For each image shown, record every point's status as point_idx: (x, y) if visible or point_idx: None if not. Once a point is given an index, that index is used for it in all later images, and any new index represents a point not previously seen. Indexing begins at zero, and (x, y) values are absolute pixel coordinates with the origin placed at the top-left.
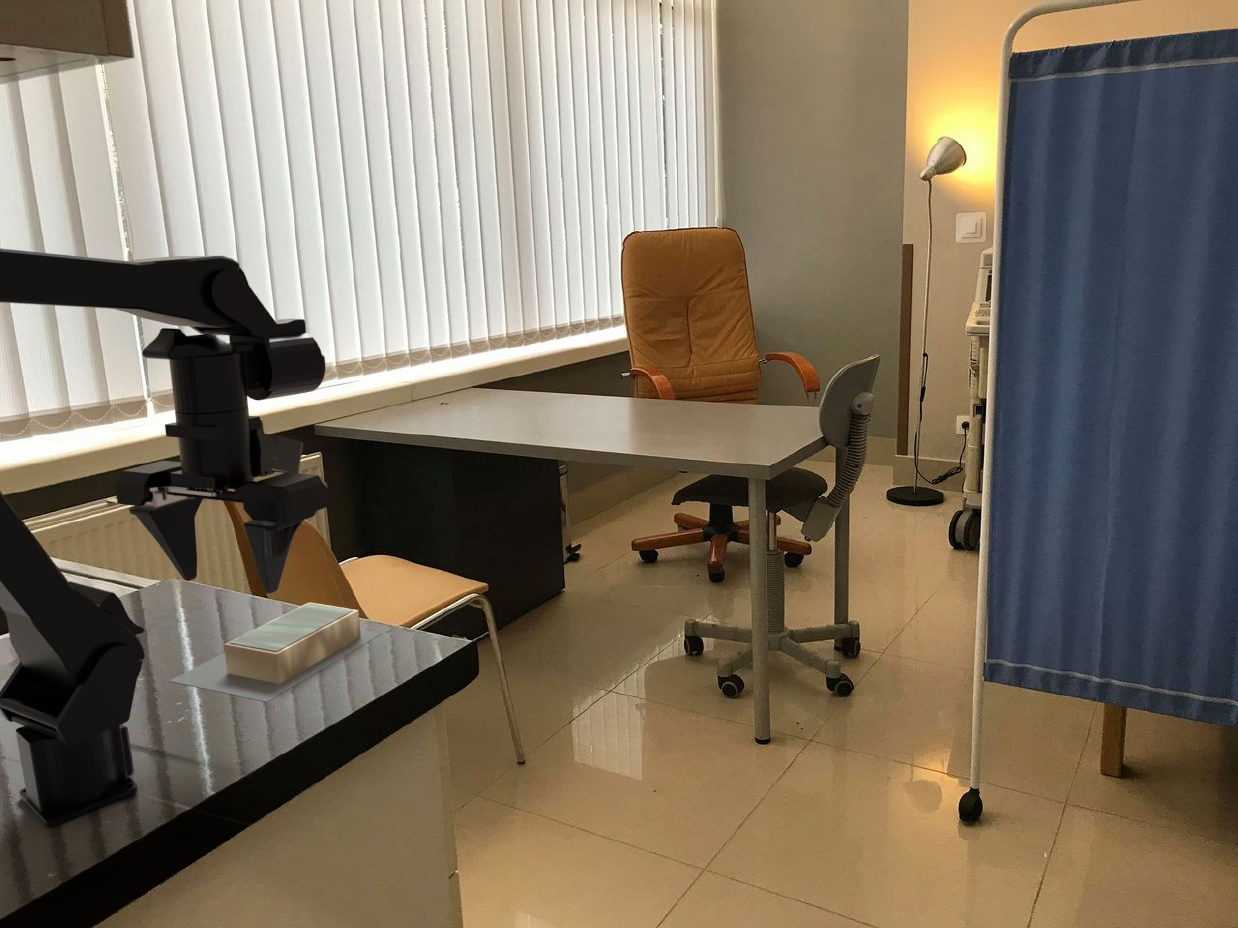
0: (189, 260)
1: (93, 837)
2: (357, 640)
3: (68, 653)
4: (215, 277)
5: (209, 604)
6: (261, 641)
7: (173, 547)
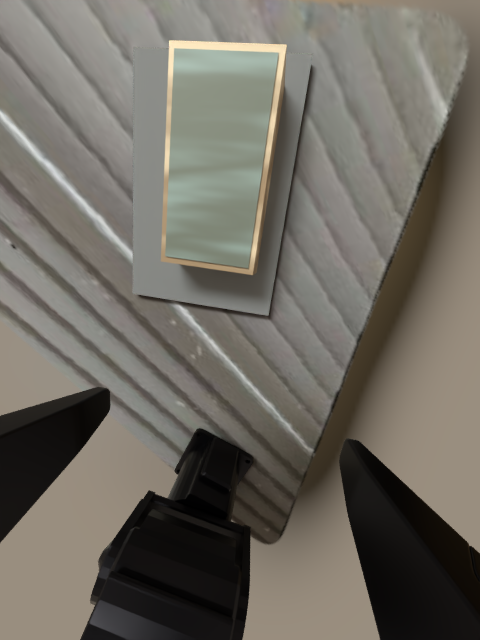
0: None
1: (263, 499)
2: (285, 101)
3: None
4: None
5: None
6: (205, 242)
7: (18, 514)
